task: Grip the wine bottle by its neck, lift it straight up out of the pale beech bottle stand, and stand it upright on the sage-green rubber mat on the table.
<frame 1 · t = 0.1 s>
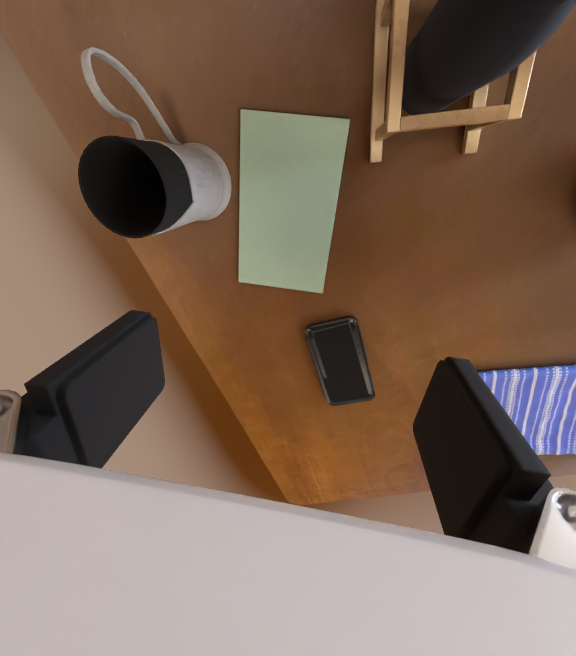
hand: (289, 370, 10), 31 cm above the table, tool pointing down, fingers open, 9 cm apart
mat: (286, 211, 37), on the table
bottle stand: (428, 77, 29), on the table
dish towel: (535, 408, 46), on the table
phone: (340, 361, 46), on the table
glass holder: (190, 159, 36), on the table
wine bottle: (427, 78, 30), on the table
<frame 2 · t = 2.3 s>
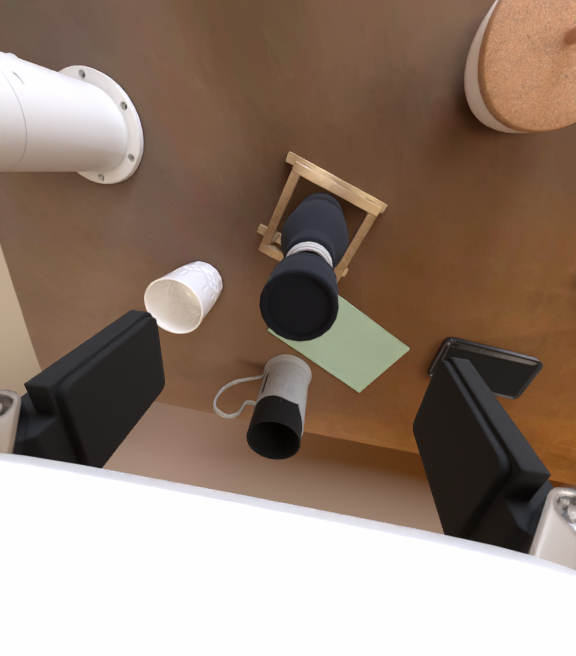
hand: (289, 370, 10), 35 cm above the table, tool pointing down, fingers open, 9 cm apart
mat: (337, 338, 49), on the table
bottle stand: (319, 218, 40), on the table
white cup: (202, 281, 47), on the table
lidded bowl: (509, 70, 31), on the table
phone: (480, 366, 48), on the table
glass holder: (273, 369, 54), on the table
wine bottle: (319, 218, 41), on the table
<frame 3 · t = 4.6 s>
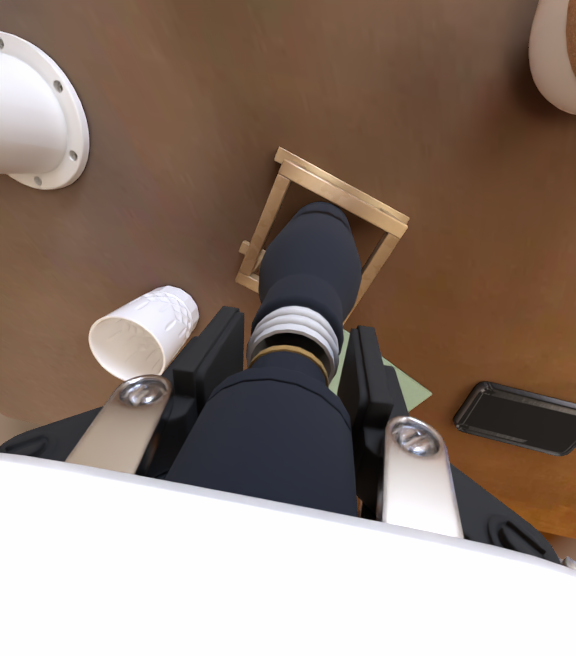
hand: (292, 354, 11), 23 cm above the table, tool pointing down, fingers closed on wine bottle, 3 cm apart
mat: (341, 379, 40), on the table
bottle stand: (319, 234, 31), on the table
white cup: (175, 309, 38), on the table
phone: (520, 416, 39), on the table
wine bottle: (319, 233, 31), on the table, touching gripper
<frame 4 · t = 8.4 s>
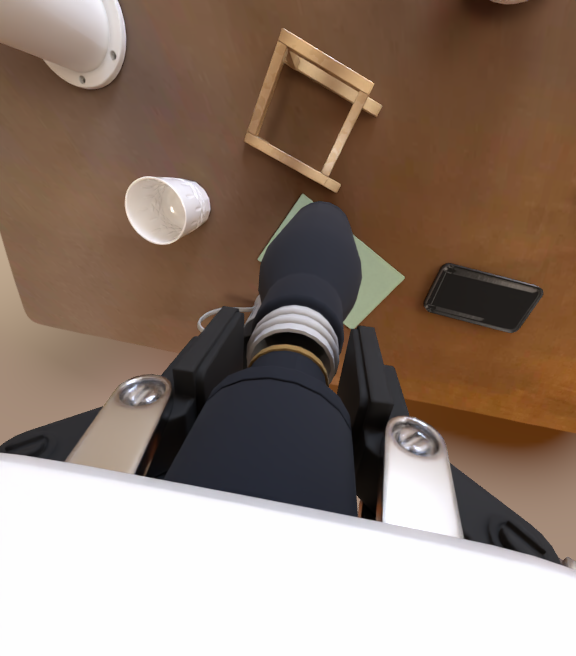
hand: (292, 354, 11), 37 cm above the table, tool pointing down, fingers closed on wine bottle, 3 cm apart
mat: (329, 267, 47), on the table
bottle stand: (310, 125, 39), on the table
white cup: (190, 204, 45), on the table
phone: (478, 297, 46), on the table
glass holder: (263, 305, 52), on the table
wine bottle: (319, 233, 31), point 14 cm above the table, touching gripper
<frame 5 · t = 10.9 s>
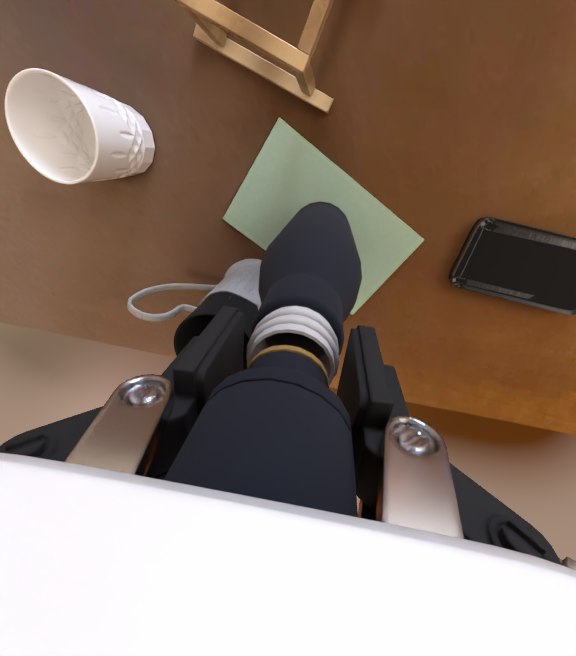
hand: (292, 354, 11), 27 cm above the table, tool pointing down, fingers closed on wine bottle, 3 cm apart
mat: (320, 228, 34), on the table
bottle stand: (287, 6, 26), on the table
white cup: (127, 141, 33), on the table
phone: (525, 266, 33), on the table
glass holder: (235, 283, 39), on the table
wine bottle: (319, 233, 31), point 3 cm above the table, touching gripper
when the fingers open (24 cm above the table, at t = 12.4 s): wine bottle stays where it is, resting on mat.
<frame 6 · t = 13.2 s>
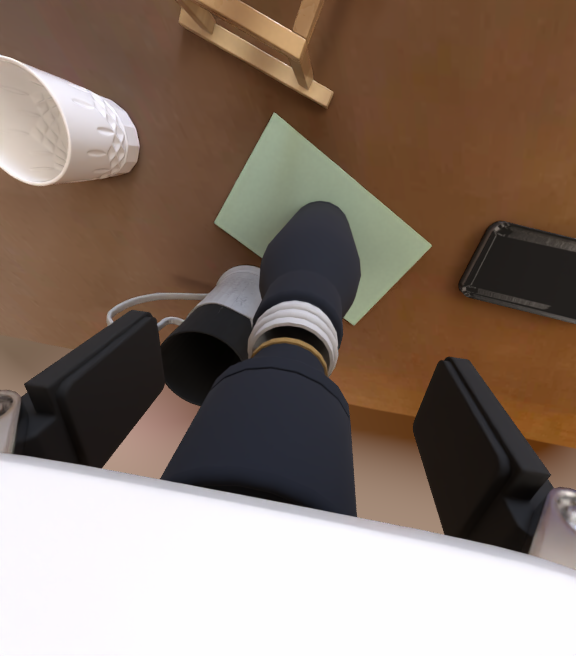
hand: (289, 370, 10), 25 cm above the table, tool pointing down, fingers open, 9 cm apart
mat: (319, 233, 32), on the table
white cup: (110, 139, 31), on the table
phone: (542, 274, 31), on the table
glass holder: (228, 291, 37), on the table
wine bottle: (319, 232, 32), resting on mat
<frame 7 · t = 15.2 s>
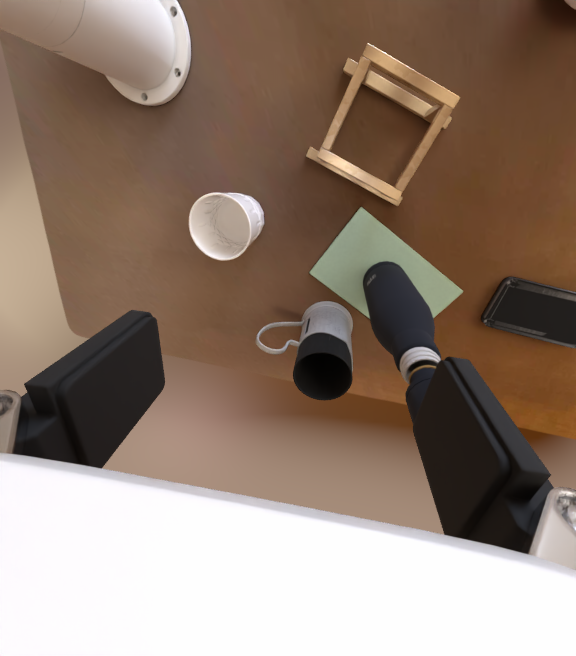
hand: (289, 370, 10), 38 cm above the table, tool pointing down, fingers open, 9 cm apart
mat: (384, 281, 46), on the table
bottle stand: (374, 139, 38), on the table
white cup: (243, 218, 45), on the table
phone: (540, 311, 44), on the table
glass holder: (312, 318, 51), on the table
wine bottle: (383, 281, 46), resting on mat
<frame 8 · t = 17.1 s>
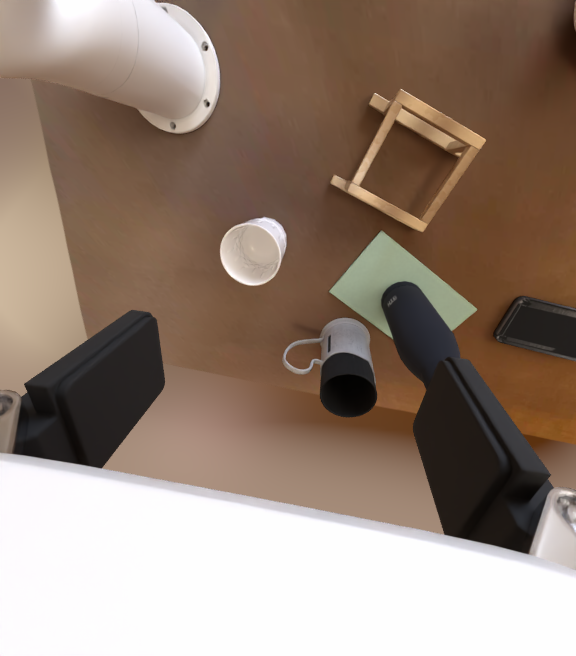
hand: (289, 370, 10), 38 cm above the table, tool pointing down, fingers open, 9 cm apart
mat: (401, 299, 48), on the table
bottle stand: (396, 167, 39), on the table
white cup: (266, 239, 46), on the table
phone: (549, 328, 47), on the table
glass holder: (330, 334, 53), on the table
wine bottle: (401, 299, 48), resting on mat
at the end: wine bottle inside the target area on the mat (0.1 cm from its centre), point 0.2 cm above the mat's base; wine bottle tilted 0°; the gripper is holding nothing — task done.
